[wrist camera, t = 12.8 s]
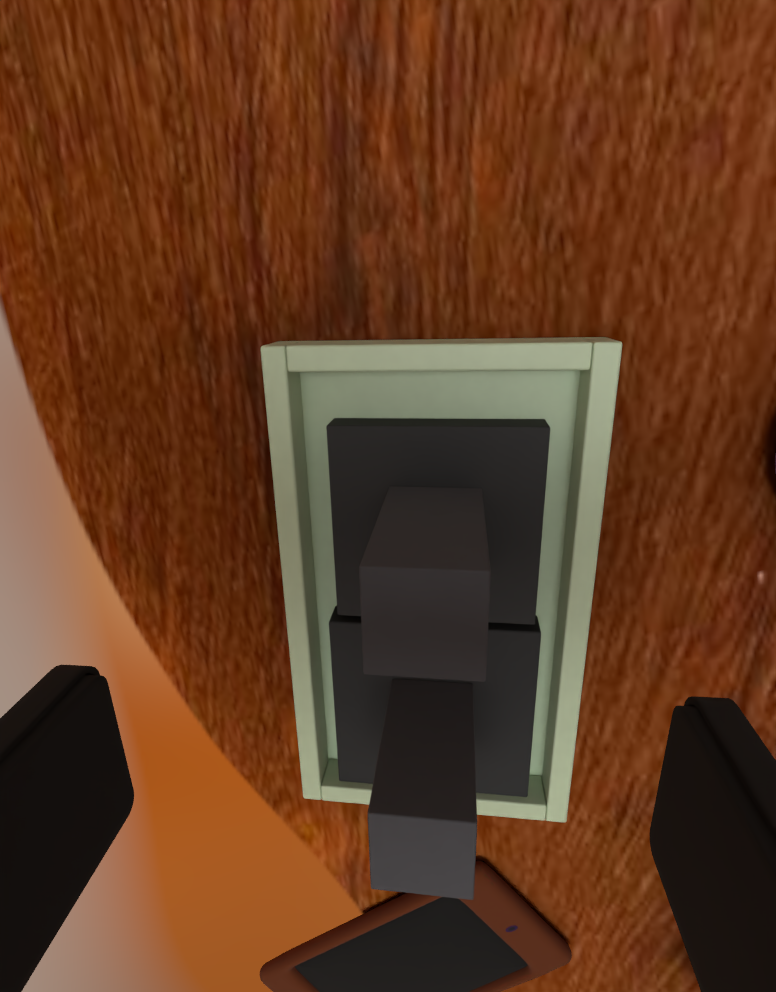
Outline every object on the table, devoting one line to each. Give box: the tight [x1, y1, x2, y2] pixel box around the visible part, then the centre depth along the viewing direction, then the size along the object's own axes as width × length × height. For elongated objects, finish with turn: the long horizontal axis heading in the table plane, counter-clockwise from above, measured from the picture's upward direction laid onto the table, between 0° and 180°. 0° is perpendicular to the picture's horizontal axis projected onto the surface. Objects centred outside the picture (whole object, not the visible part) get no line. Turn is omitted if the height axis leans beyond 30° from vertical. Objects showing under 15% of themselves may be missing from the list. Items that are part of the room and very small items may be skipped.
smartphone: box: [260, 861, 572, 992], centre depth 28 cm, size 7×1×15 cm
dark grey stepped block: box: [326, 418, 550, 682], centre depth 16 cm, size 7×7×7 cm
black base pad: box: [329, 606, 541, 900], centre depth 19 cm, size 8×8×7 cm
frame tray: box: [261, 337, 622, 822], centre depth 20 cm, size 11×18×2 cm, turn 1°
